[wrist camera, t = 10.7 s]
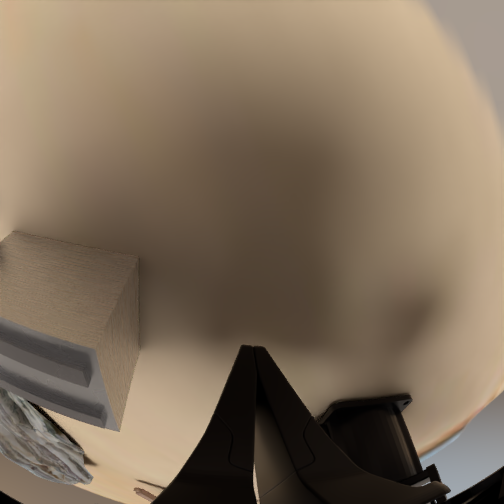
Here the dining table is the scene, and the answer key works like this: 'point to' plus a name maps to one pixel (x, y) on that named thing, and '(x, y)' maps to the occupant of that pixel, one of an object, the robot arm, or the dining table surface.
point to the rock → (38, 443)
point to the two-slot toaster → (68, 327)
